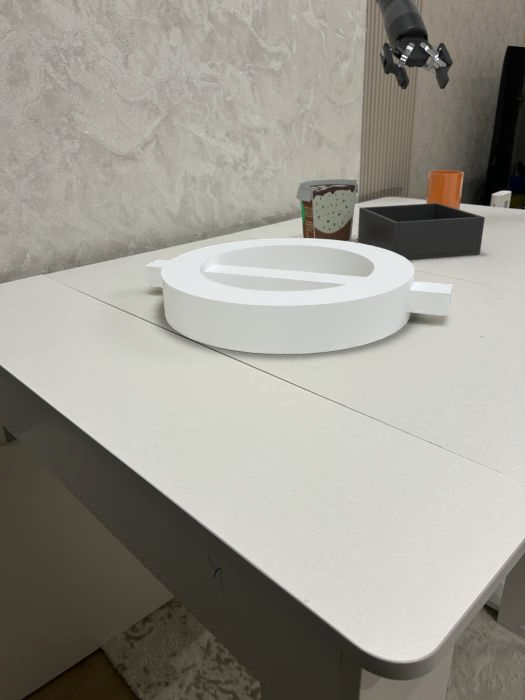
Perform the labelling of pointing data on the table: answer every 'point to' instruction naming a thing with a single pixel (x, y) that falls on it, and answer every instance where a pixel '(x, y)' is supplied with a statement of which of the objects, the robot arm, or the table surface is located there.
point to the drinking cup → (445, 187)
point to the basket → (421, 230)
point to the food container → (328, 208)
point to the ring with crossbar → (292, 294)
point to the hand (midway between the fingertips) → (425, 85)
